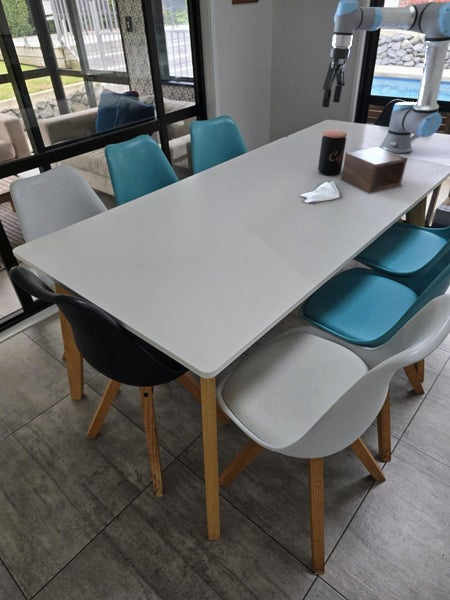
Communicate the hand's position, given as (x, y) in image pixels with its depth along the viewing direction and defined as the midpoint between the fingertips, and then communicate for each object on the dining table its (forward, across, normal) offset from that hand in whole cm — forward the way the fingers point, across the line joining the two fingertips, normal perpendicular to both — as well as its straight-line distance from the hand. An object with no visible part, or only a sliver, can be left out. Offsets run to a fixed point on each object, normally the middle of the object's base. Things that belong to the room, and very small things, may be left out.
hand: (330, 104), depth 178 cm
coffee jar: (+29, -1, +4) cm, 29 cm away
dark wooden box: (+28, +2, +25) cm, 38 cm away
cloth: (+30, +25, +12) cm, 41 cm away
